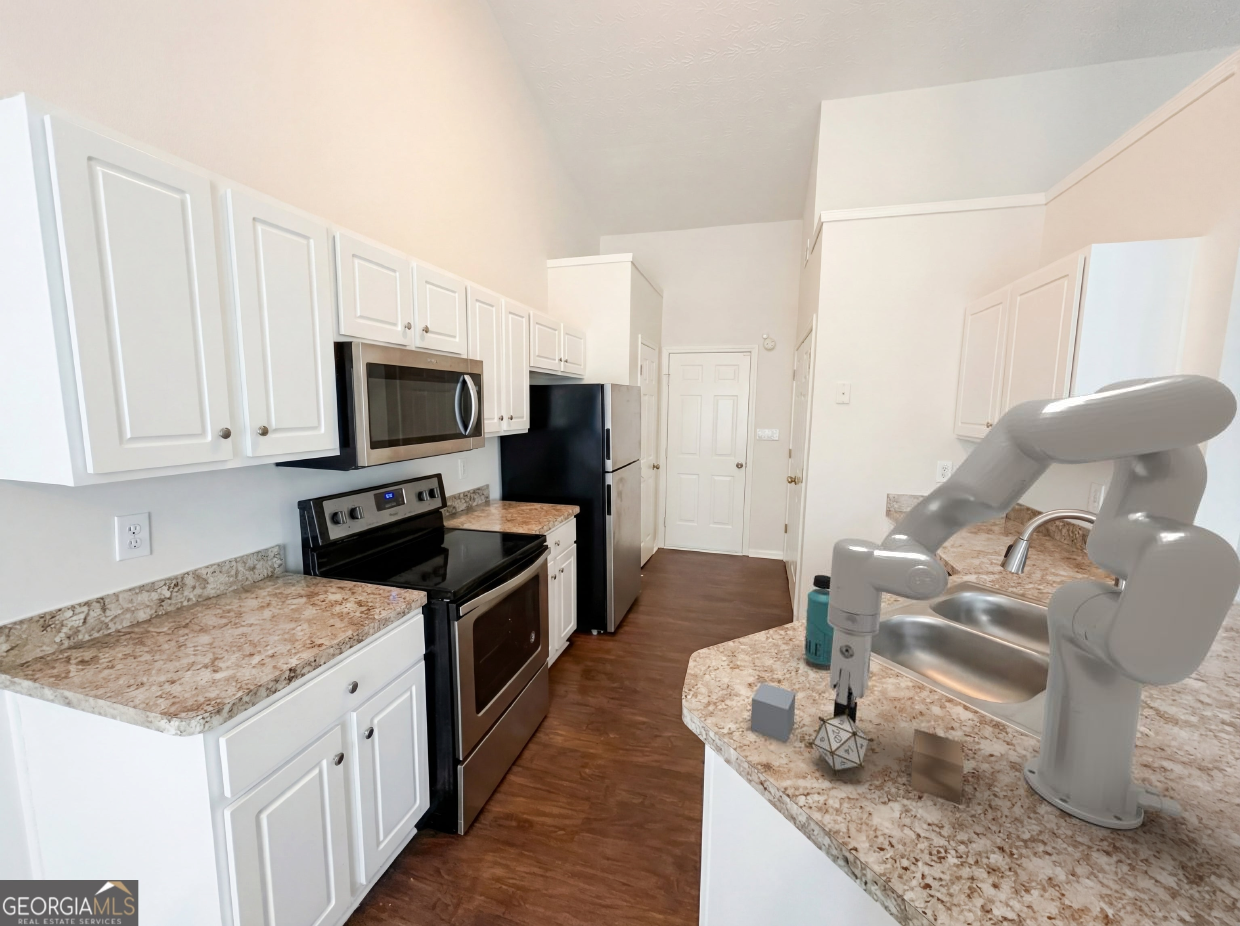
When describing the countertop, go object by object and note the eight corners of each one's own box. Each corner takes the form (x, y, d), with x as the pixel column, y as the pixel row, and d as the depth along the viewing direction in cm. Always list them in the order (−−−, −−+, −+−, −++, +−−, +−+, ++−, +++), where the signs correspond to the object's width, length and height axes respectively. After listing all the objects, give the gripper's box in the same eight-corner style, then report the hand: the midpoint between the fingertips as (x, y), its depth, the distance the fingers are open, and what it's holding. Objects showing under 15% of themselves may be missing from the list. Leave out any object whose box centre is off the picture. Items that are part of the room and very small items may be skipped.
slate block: (793, 724, 86) (795, 692, 85) (785, 743, 81) (787, 709, 80) (760, 713, 89) (761, 682, 89) (750, 730, 84) (752, 698, 84)
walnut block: (957, 779, 73) (960, 742, 73) (960, 805, 68) (963, 766, 68) (911, 763, 77) (914, 728, 76) (911, 788, 72) (913, 750, 71)
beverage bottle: (837, 662, 108) (842, 575, 106) (832, 675, 103) (837, 583, 101) (806, 654, 112) (811, 569, 110) (800, 666, 106) (805, 577, 104)
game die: (851, 792, 75) (887, 777, 68) (798, 769, 76) (828, 751, 69) (851, 733, 81) (883, 713, 74) (801, 712, 82) (829, 691, 75)
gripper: (874, 640, 69) (863, 759, 71) (883, 607, 82) (874, 709, 84) (819, 626, 73) (810, 739, 75) (835, 597, 86) (828, 694, 88)
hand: (844, 723), depth 80 cm, fingers closed
